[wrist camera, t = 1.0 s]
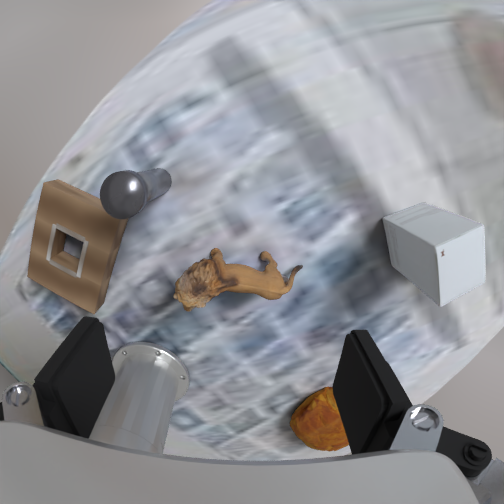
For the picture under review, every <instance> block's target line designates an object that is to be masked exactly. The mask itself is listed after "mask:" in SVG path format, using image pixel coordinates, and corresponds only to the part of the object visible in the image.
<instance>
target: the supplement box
mask: <svg viewBox="0 0 504 504" xmlns="http://www.w3.org/2000/svg"><path fill="white" fill-rule="evenodd" d="M382 219H383V224H384V229H385V233H386V239H387V244H388V249H389V254H390V260H391V265H392V266H393V267H394V268H395V269H396V270H398V271H399V272H400V273H401V274H402V275H404V276H405V277H406V278H407V279H408V280H410V281H411V282H412V283H413V284H414V285H415V286H417V287H418V288H419V289H420V290H421V291H422V292H424V293H425V294H426V295H427V296H428V297H429V298H431V299H432V300H433V301H434V302H435V303H436V304H437V305H439V306H440V307H442V306H444V305H445V304H447V303H449V302H451V301H453V300H455V299H457V298H459V297H460V296H462V295H464V294H466V293H468V292H469V291H471V290H473V289H475V288H477V287H478V286H480V285H482V284H484V283H485V234H484V224H482V223H479V222H477V221H474V220H472V219H469V218H466V217H464V216H461V215H458V214H456V213H453V212H450V211H447V210H445V209H442V208H439V207H436V206H433V205H430V204H427V203H425V202H424V203H421V204H418V205H415V206H413V207H410V208H407V209H404V210H402V211H399V212H396V213H394V214H391V215H388V216H386V217H383V218H382Z"/></svg>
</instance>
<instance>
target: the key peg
mask: <svg viewBox="0 0 504 504" xmlns="http://www.w3.org/2000/svg"><path fill="white" fill-rule="evenodd" d="M171 183H172V180H171V176H170V174H169V173H168V172H167V171H166V170H164V169H161V168H157V169H152V170H147V171H142V172H137V173H136V172H134V171H130V170H125V171H120V172H115V173H113V174H111V175H109V176H108V177H107V178H106V179H105V181H104V182H103V184H102V186H101V190H100V200H101V204H102V206H103V208H104V210H105V211H106V212H107V213H108V214H109V215H110V216H112V217H113V218H116V219H128V218H130V217H132V216H134V215H135V214H137V213H139V212H140V211H141V210H142V209H143V208H144V206H145V205H146V203H147V202H149V201H151V200H153V199H155V198H157V197H158V196H160V195H162V194H164V193H166V192H167V191H168V190H169V189H170V187H171Z"/></svg>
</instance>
